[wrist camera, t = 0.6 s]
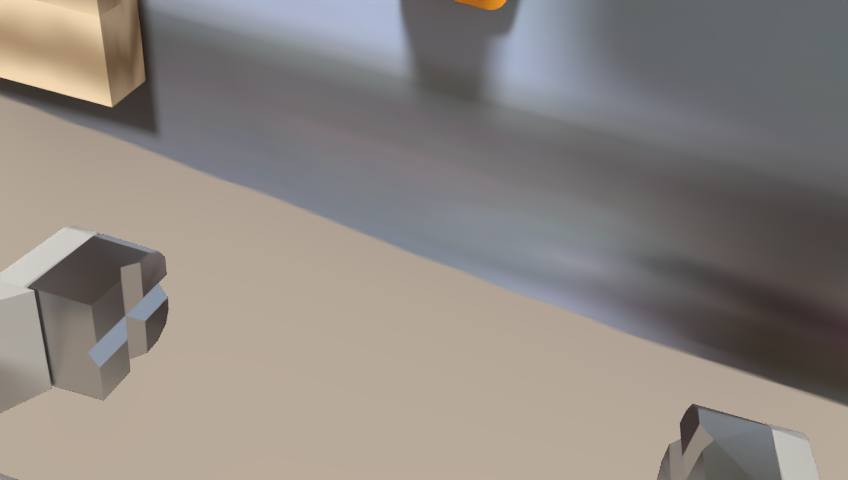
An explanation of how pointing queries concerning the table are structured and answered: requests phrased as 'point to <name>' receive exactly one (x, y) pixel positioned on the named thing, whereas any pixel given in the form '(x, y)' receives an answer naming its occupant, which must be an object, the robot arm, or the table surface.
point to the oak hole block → (73, 47)
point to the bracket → (484, 3)
